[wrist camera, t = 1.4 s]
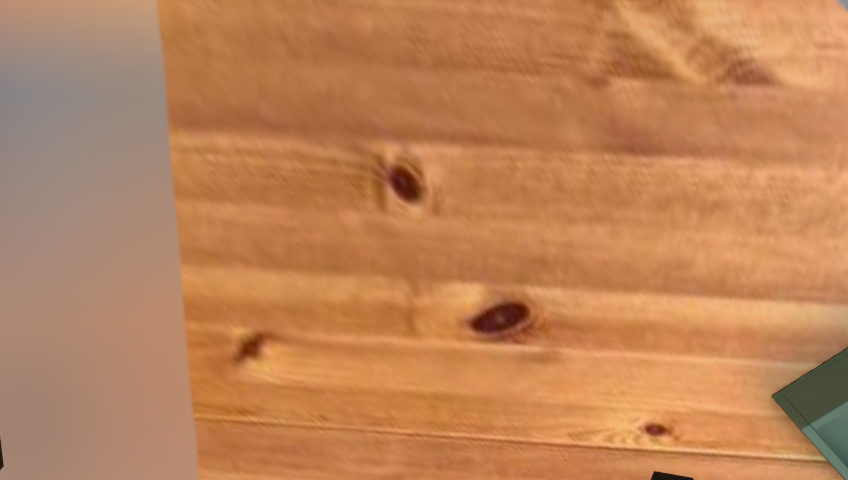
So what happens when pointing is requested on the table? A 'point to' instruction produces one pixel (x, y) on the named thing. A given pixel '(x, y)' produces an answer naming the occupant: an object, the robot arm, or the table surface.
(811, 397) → the bin
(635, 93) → the table surface
